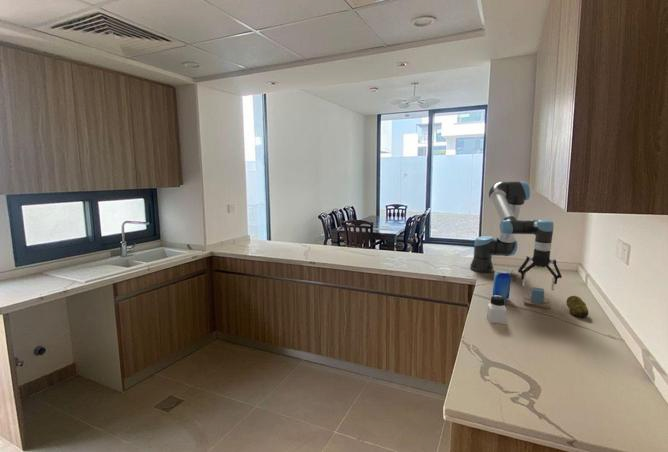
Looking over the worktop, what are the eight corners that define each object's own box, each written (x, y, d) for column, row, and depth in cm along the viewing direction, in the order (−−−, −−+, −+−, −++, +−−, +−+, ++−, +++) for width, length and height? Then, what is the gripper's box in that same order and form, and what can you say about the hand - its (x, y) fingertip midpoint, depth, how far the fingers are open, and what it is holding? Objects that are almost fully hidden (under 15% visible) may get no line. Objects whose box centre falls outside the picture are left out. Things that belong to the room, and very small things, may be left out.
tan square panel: (523, 297, 201) (524, 286, 200) (548, 300, 196) (549, 289, 195) (524, 304, 191) (525, 293, 190) (550, 308, 186) (551, 296, 185)
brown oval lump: (568, 317, 176) (570, 301, 174) (564, 307, 187) (566, 293, 186) (588, 320, 173) (590, 304, 171) (583, 310, 184) (585, 295, 183)
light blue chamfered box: (530, 298, 197) (531, 287, 196) (542, 300, 195) (543, 288, 193) (531, 302, 192) (532, 290, 191) (543, 303, 190) (544, 292, 188)
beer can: (505, 295, 203) (507, 268, 200) (511, 301, 195) (513, 273, 192) (490, 295, 204) (492, 268, 201) (495, 301, 196) (497, 273, 193)
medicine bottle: (505, 324, 168) (508, 300, 166) (489, 322, 170) (491, 299, 168) (502, 317, 175) (504, 294, 173) (486, 316, 177) (488, 293, 175)
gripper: (515, 248, 190) (512, 286, 194) (571, 254, 179) (565, 293, 184) (515, 245, 197) (511, 281, 201) (569, 250, 186) (563, 288, 190)
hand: (537, 287), depth 192 cm, fingers open, 13 cm apart
